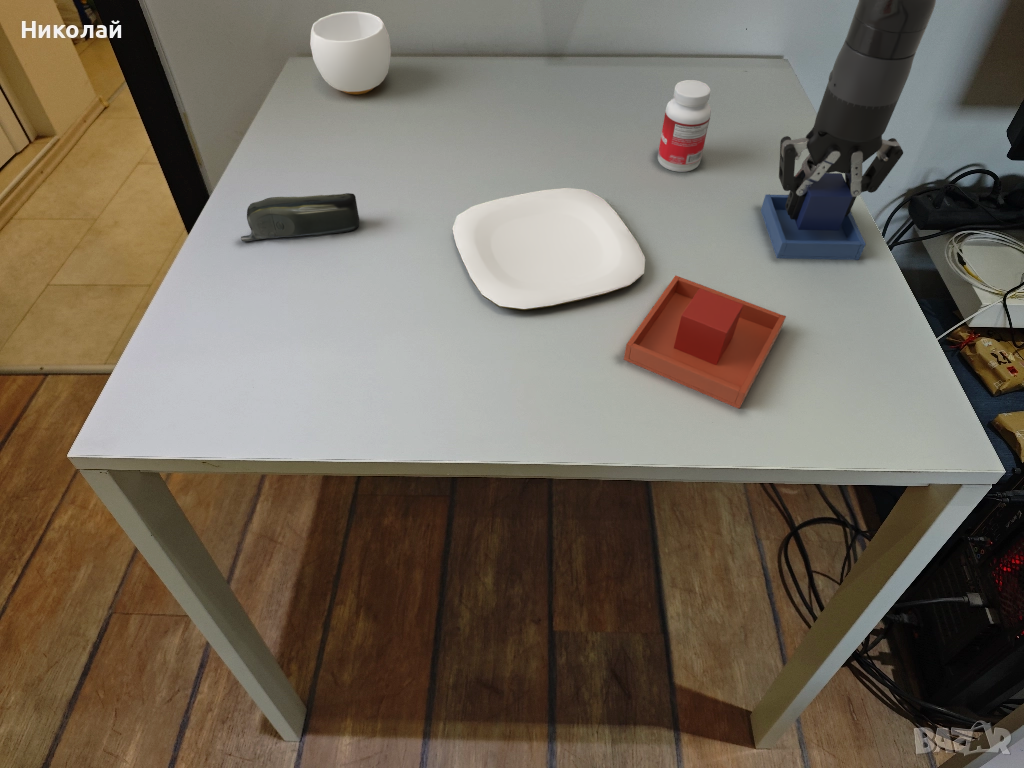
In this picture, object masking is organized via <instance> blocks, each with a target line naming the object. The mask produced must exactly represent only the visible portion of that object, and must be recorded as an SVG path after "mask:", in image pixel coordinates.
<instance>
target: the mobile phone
mask: <svg viewBox="0 0 1024 768" xmlns="http://www.w3.org/2000/svg"><path fill="white" fill-rule="evenodd" d="M246 210H247V211H246V220H247V224H248V226H249V229H250V231H251V232H250V234H249V235H242V236H240V240H241V242H250V241H256V240H266V239H278V238H291V237H292V238H293V237H301V236H321V235H330V234H331V235H333V234H342V233H343V234H344V233H349V232H352V231H354V230H356V229H358V227H359V226H360V215H359V210H358V204H357V198H356V195H355V194H354V193H352V192H351V193H349V192H348V193H347V192H346V193H337V194H316V195H306V196H305V195H304V196H273V197H266V198H264V199H261V200H259V201H255V202H251V203H250V204H249V205H248V206H247V209H246Z"/></svg>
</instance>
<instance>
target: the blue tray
mask: <svg viewBox="0 0 1024 768" xmlns="http://www.w3.org/2000/svg"><path fill="white" fill-rule="evenodd" d="M788 195H789V194H767V193H766V194H765V195H764V198H763V201H762V204H761V207H760V212H761V215H762V218H763V221H764V224H765V228H766V231H767V234H768V237H769V239H770V243H771V246H772V249H773V253H774V254H775V258H776V259H781V260H782V259H784V260H786V259H787V260H788V259H789V260H790V259H791V260H839V261H840V260H842V261H851V260H852V261H859V260H860V258H861V256H862V254H863V252H864V250H865V247H866V245H867V244H866V241H865V239H864V237H863V235H862V233H861V230H860V229H859V226H858V224H857V222H856V220H855V218H854V215H853V214H852V212H851V211H852V210H851V211H850V213H849V214H848V215H847V216H844V219H843V221H842V223H841V226H840V228H839V230H838V231H834V230H798V227H797V224H796V222H795V220H793V219H790V216H789V215H788V214H787V211H786V207H785V204H786V202H787V199H788Z"/></svg>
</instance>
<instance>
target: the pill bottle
mask: <svg viewBox="0 0 1024 768" xmlns="http://www.w3.org/2000/svg"><path fill="white" fill-rule="evenodd" d="M710 94H711V88H710V86H709V85H708V84H707V83H705V82H703V81H701V80H695V79H685V80H681V81H678V82H677V83H676V84H675V86H674V91H673V98H671V99H670V100H669V101H668V102H667V104H666V107H665V111H664V116H663V123H662V127H661V128H662V129H661V135H660V141H659V146H658V152H657V160H658V163H659V164H660V165H661V166H662V167H663V168H665V169H666V170H669V171H673V172H678V173H686V172H690V171H693V170H695V169H696V168H698V167H699V166H700V163H701V162H702V161H701V160H702V156H703V152H704V147H705V142H706V138H707V133H708V130H709V125H710V119H711V117H712V108H711V105H710V103H708V102H709V100H710Z"/></svg>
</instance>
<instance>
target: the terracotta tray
mask: <svg viewBox="0 0 1024 768" xmlns="http://www.w3.org/2000/svg"><path fill="white" fill-rule="evenodd" d="M699 288H700V289H703V290H706V291H708V292H711V293H714V294H716V295H719V296H722V297H724V298H727V299H730V300H732V301H735V302H738V303H740V304H743V308H742V311H741V314H740V317H739V320H738V323H737V326H736V329H735V332H734V335H733V338H732V340H731V341H730V343H729V345H728V346H727V348H726V350H725V352H724V353H723V355H722V357H721V358H720V360H719V362H718V364H717V365H714V364H712V363H709V362H707V361H704V360H702V359H699V358H697V357H694V356H692V355H690V354H687V353H685V352H682V351H680V350H677V349H675V348H674V344H675V340H676V336H677V332H678V328H679V324H680V320H681V315H682V314H683V312H684V311H685V309H686V308H687V306H688V305H689V303H690V302H691V300H692V299H693V297H694V296H695V294H696V293H697V291H698V290H699ZM786 318H787V316H786V315H783V314H780V313H778V312H776V311H773V310H770V309H767V308H765V307H761V306H760V305H756V304H754V303H751V302H748V301H746V300H743V299H740V298H737V297H735V296H733V295H729V294H727V293H725V292H722V291H719V290H716V289H714V288H712V287H708V286H706V285H703V284H700V283H697V282H695V281H692V280H689V279H687V278H685V277H681V276H678V275H676V274H675V275H674V276H673V278H672V279H671V281H670V282H669V283H668V285H667V287H666V288H665V289H664V291H663V292H662V294H661V295H660V297H659V298H658V299H657V301H656V302H655V303H654V305H653V306H652V307H651V309H650V310H649V311H648V313H647V314H646V316H645V317H644V318H643V320H642V322H640V325H639V326H637V329H636V330H635V332H634V333H633V334H632V336H631V337H630V339H629V340H628V341H627V343H626V345H625V350H624V355H623V360H624V361H626V362H628V363H630V364H633V365H635V366H638V367H640V368H642V369H644V370H647V371H648V372H651V373H654V374H656V375H658V376H661V377H664V378H666V379H668V380H671V381H673V382H675V383H678V384H680V385H682V386H685V387H686V388H689V389H691V390H694V391H697V392H699V393H700V394H703V395H706V396H707V397H710V398H713V399H714V400H718V401H720V402H722V403H725V404H727V405H729V406H732V407H733V408H735V409H741V407H742V405H743V403H744V402H745V399H746V398H747V395H748V394H749V391H750V390H751V388H752V386H753V384H754V382H755V381H756V379H757V377H758V374H760V373H759V372H760V371H761V369H762V367H763V365H764V363H765V361H766V359H767V357H768V356H769V354H770V353H771V352H770V351H772V348H773V347H774V344H775V342H776V341H777V338H778V336H779V335H780V332H781V330H782V328H783V325H784V324H785V321H786Z"/></svg>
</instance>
